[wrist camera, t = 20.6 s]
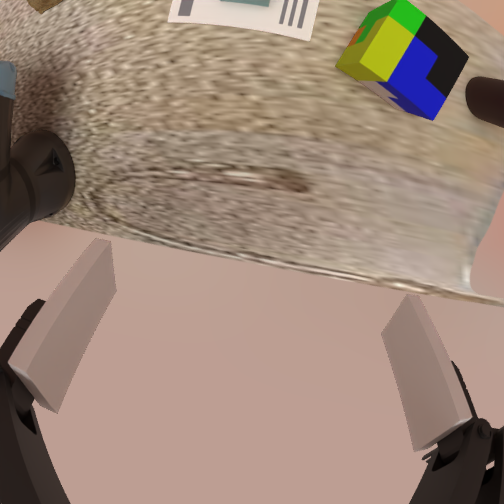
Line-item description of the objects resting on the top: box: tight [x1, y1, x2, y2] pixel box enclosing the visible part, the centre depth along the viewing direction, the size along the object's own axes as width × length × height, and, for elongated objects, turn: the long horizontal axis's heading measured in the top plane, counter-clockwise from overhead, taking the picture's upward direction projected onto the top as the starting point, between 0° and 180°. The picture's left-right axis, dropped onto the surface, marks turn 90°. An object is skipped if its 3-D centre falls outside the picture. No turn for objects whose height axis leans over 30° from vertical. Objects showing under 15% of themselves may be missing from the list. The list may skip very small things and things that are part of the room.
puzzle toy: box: [335, 0, 469, 121], centre depth 24 cm, size 10×10×10 cm
